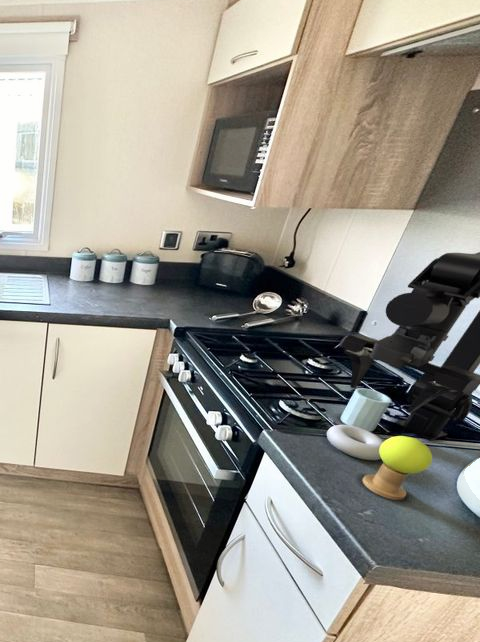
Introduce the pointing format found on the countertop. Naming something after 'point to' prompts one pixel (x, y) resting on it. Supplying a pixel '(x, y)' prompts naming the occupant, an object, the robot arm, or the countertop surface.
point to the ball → (405, 454)
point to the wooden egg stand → (386, 483)
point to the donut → (355, 441)
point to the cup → (365, 409)
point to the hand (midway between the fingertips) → (379, 399)
